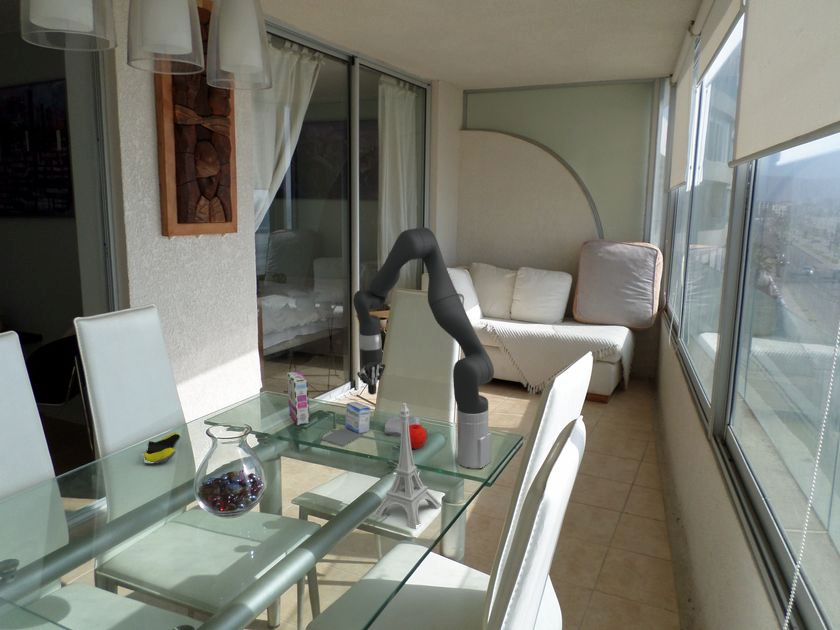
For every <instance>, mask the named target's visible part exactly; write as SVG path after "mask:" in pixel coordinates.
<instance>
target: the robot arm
mask: <svg viewBox="0 0 840 630" xmlns="http://www.w3.org/2000/svg"><path fill="white" fill-rule="evenodd" d="M419 259H421V260H422V261H423V263H424V266H425V269H426V271H427V275H428V286H427V287H428V288H427V303H428V305H429V308H430V310H431V313H432V316H433V317H434V319H435V321H436V323H437V324H438V326H440V328H442V329H443V330H444V331H445V333H447V334H448V335H449V336H451V337H452V338H453V340H455V341H456V342H457V344H458V345H459V347H460V348H461V350H462V352H463V355H464V357H463V358H460V359H459V360H457V361H456V362H455V363H454V366H453V368H452V369H453V370H452V379H453V380H452V381H453V396H454V400H455V403H456V407H457V408H456V411H457V413H456V414H457V415H456V416H457V417H456V418H457V419H456V421H457V429H456V430H457V463H458V464H459V465H460V464H461V465H462V466H461V465H460V466H461V467H463V466H466V467H471V468H470V469H478V468H482V467H483V468H484V466H485V465H486V466H487V465H489V464H490V463H491V462H492V432H491V431H489V400H488V398H487V397H486V396H484V395H481V394H480V393H479V388H480V387H481V386H483V385H485V384H487V383H490V382H491V381H492V380H493V378H494V374H495V369H494V365H493V362H492V359H491V358H490V356H489V354H488V352H487V351H486V349H485V347H484V345H483V344H482V342H481V341H480V339H479V337H478V335H477V333H476V331H475V329H474V327H473V325H472V323H471V321H470V318H469V317H468V315H467V312H466V309H465V307H464V304H463V302H462V301H461V298H460V296H459V293H458V291H457V290H456V287H455V286H454V283H453V281H452V278H451V276H450V273H449V271H448V268H447V266H446V263H445V260H444V257H443V255H442V252H441V248H440V246H439V243H438V240H437V237H436V236H435V234H434V232H433V230H431V229H430V228H428V227H416V228H409V229H405V230H403V231H402V232H401V233H400V234H399V235H398V237H397V238H396V240H395V241H394V243H393V246H392V248H391V250H390V251H389V253H388V256H387V258H386V259H385V261H384V263H383V264H382V266H380V268H379V270H378V271H377V272H376V274H375V275H373V277H372V278H371V280H370V282H369V285H368V286H369V287H368V288H365V289H360V290H357V291H356V292H355V293H354V295H353V301H352V302H353V307H354V309H355V313H356V316H357V319H358V323H359V360H360V361H361V362H362V363H361V370H360V371H357V373H356V374H357V377H358V378H359V379H360V380H361V382H362V383H363V384H366V385H367V392H368V394H369V395H375V394H377V383H378V381H380V380H381V379H382V376H383V373H384V371H385V369H386V364H385V363H382V362H381V360H382V358H383V348H382V346H383V345H382V343H383V342H382V335H381V321H380V320H381V319H380V317H379V316H378V315H375V314H371V313H370V310H374V309H378V308H380V307H382V306H383V305H384V304H385V302H386V300H387V297H388V295H389V293H390V292H391V291H392V289H393V288H394V287H395V286H396V284H397V283H398V281H399V280H400V277H401V269H402V268H403V266H404V265H406V264H407V263H408V262H410V261H414V260H419ZM488 463H489V464H488ZM486 466H485V467H486ZM466 467H465V468H466ZM483 468H482V469H483Z"/></svg>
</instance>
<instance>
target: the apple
mask: <svg viewBox="0 0 840 630" xmlns="http://www.w3.org/2000/svg"><path fill="white" fill-rule="evenodd" d="M409 434H410V442H411V449H412V448H413V449H412V450H418V449H420V448H422V446H424V445H425V443H426V441H427V437H428V436H427V435H428V434H427V431H426V429H425V428H424V427H423V426H422V425H421V424H420V425H418V424H414V425H409ZM417 448H418V449H417Z"/></svg>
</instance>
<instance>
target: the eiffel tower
mask: <svg viewBox="0 0 840 630" xmlns="http://www.w3.org/2000/svg"><path fill="white" fill-rule="evenodd" d="M398 417H399V419H401V437H400V447H399V458H398V465H397V468H395V472H396V474H395V478H394V480H393V482H392V484H391V488H389V490H387V491H386V492H385V493H386V494H385V495H386V497H385V498H384V499H383V500H382V502H381V503H380V504H379V506H378V508H376V510H375V511H374V512H373V514H372V515H371V516H372V517H375V518H377V519H382V518H384V517H385V516H386V515H387V512H386V511H387V510H388V508H389V506H391V505H393V504H395V505H400V506H401V507H402V508H403V509H404V510H405V511H406V515H407V518H408V519H407V520H408V522H407V524H408V525H407V526H406V527H407V528H410V529H413V530H417V529H416V525H419V524H421V520H420V517H419V506H420V504H421V502H422V501H423V500H424V501H426V502H427V503H428V506H427V507H428V508H431V509H434V510H439V509H440V508H441V507H443V504H442V503H441V502H440V501H438V499H437V498H436V497H435V496H434V495H433V494H432V493H430V491H429V490H428V486H427V485H424V483H423V482H422V480H421V478H420V476H419V474H418V472H417V468H418V465H417V466H416V465H415V461H414V456H413V449H412V448H411V442H410V434H409V421H408V418H409V417H411V414H410V409H409V408H408V406H407V403H406V402H402V405H401V408H400V409H399V416H398Z"/></svg>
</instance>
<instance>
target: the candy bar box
mask: <svg viewBox="0 0 840 630" xmlns="http://www.w3.org/2000/svg"><path fill="white" fill-rule="evenodd" d="M286 381H287V392H288V393H287V395H288V409H289V411H288V412H289V416H290V418H291V419H292V420H293V422H294V423H295V424H296V426H304V425H308V423H309V424H311V421H310V420H311V419H310V405H309V403H310V402H309V386H308V385H309V384H308V379H307V377H305V376H304V374H303V373H301V371H300V370H298V371H297V370H296V371H289V372H287V373H286ZM303 424H304V425H303Z"/></svg>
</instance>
